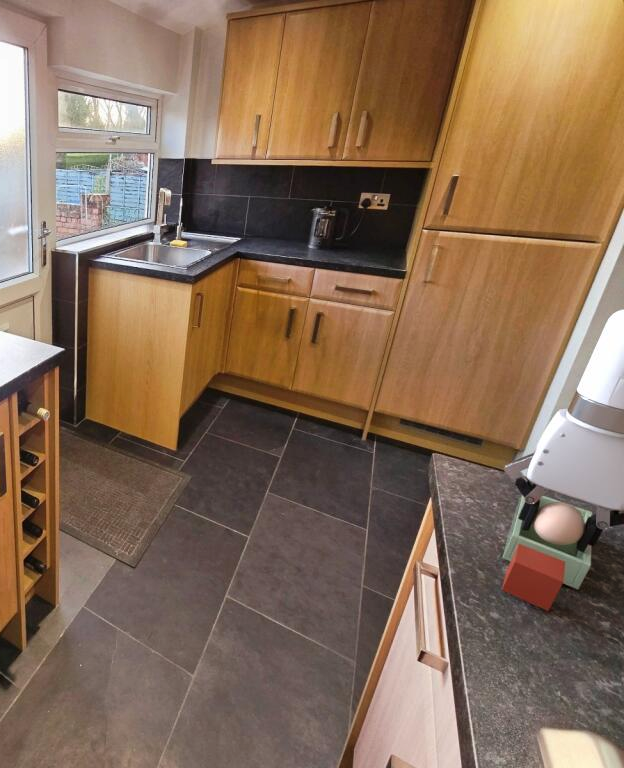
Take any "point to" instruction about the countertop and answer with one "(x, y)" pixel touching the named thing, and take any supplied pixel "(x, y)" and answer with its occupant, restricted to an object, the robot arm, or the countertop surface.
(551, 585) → the block
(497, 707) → the countertop surface
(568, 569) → the tray
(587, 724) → the countertop surface
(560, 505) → the egg
